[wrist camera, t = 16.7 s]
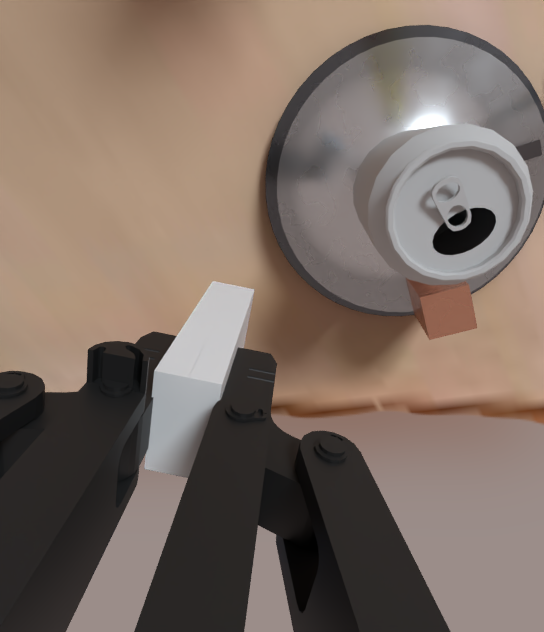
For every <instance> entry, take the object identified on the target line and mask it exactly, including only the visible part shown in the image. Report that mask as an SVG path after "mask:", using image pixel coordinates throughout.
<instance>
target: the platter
mask: <svg viewBox="0 0 544 632" xmlns="http://www.w3.org/2000/svg"><path fill="white" fill-rule="evenodd" d="M465 123H468V124H472V125H475V126H479V127H483V128H487V129H491V130H494V131H495V132H496V133H498V134H499V135H501V136H502V137H503V138H505V139H506V140H508V141H509V142H510V143H512V144H513V145H514V146H515V148H516V149H517V151H518V152H519V154H520V155H521V157H522V158H523V160H524V161H525V163H526V164H527V166H528V170H529V175H530V179H531V184H532V189H533V195H532V197H533V198H532V206H531V215H530V221H529V223H528V226H527V228H526V230H525V232H524V234H523V237H522V239H521V241H520V243H519V244H518V245H517V246H516V247H515V249H514V250H513V251H512V252H511V253H510V254H509V256H508V257H507V258H506V259H505V260H504V261H503V262H501V263H500V264H498V265H497V266H495V267H494V268H492V269H491V270H489V271H488V272H486V273H485V274H483V275H481V276H479V277H476V278H473V279H470V280H467V281H464V282H461V283H458V284H452V285H428V284H424V283H420V282H417V281H413V280H409V279H407V278H406V277H404V276H403V275H401V274H400V273H398V272H397V271H395V270H394V269H392V268H390V267H389V265H388V264H387V263H386V261H385V260H384V259H383V258H382V256H381V255H380V254H379V253H378V251H377V250H376V248H375V247H374V245H373V243H372V241H371V240H370V238H369V236H368V234H367V233H366V231H365V229H364V228H363V226H362V224H361V222H360V221H359V218H358V215H357V212H356V210H355V207H354V204H353V184H354V181H355V178H356V174H357V171H358V168H359V166H360V165H361V163H362V162H363V160H364V158H365V157H366V155H367V154H368V152H369V151H370V150H372V149H373V148H374V147H375V146H376V145H377V144H379V143H380V142H381V141H382V140H383V139H385V138H388V137H390V136H392V135H395V134H397V133H399V132H402V131H408V130H415V129H421V128H428V127H434V126H442V125H453V124H465ZM277 199H278V208H279V214H280V218H281V222H282V226H283V230H284V232H285V235H286V237H287V240H288V243H289V245H290V246H291V248H292V250H293V252H294V254H295V255H296V257H297V259H298V260H299V261H300V263H301V264H302V265H303V267H304V268H305V270H306V271H307V272H308V273H309V274H310V275H311V276H312V277H313V278H314V279H315V280H316V281H317V282H318V283H320V284H321V285H322V286H323V287H325V288H326V289H327V290H328V291H330V292H332V293H333V294H335V295H337V296H338V297H340V298H342V299H344V300H346V301H348V302H351V303H353V304H355V305H358V306H362V307H365V308H369V309H373V310H379V311H385V312H411V311H414V314H415V316H416V317H417V319H418V321H419V323H420V324H421V326H422V328H423V329H424V331H425V333H426V335H427V336H428V338H429V340H431V339H435V338H439V337H443V336H447V335H451V334H455V333H459V332H463V331H467V330H471V329H475V328H477V324H476V318H475V313H474V308H473V303H472V297H471V292H472V291H474V290H476V289H477V288H479V287H481V286H482V285H483V284H485V283H486V282H487V281H488V280H490V279H491V278H492V277H494V276H495V275H496V274H497V273H498V272H499V271H500V270H501V269H502V268H503V267H504V266H505V265H506V264H507V263H508V262H509V261H510V260H511V259H512V257H513V256H514V255H515V254H516V253H517V251H518V250H519V249H520V247H521V246H522V244H523V243H524V241H525V240H526V238H527V236H528V235H529V233H530V231H531V229H532V227H533V225H534V223H535V221H536V219H537V217H538V214H539V211H540V208H541V205H542V203H543V199H544V124H543V121H542V118H541V115H540V112H539V109H538V107H537V105H536V103H535V102H534V100H533V98H532V96H531V94H530V92H529V91H528V89H527V88H526V87H525V85H524V84H523V83H522V81H521V80H520V79H519V77H518V76H517V75H516V74H514V73H513V72H512V71H511V70H510V69H509V68H508V67H507V66H506V65H505V64H504V63H502V62H501V61H500V60H498V59H497V58H495V57H494V56H492V55H491V54H490V53H487V52H485V51H483V50H481V49H479V48H477V47H475V46H473V45H470V44H467V43H463V42H460V41H457V40H453V39H446V38H438V37H413V38H407V39H401V40H395V41H392V42H388V43H385V44H382V45H378V46H376V47H373V48H371V49H369V50H367V51H365V52H363V53H360V54H358V55H357V56H355V57H354V58H352V59H350V60H349V61H347V62H346V63H344V64H342V65H341V66H340V67H339V68H337V69H336V70H335V71H334V72H332V73H331V74H330V75H329V76H328V77H326V78H325V79H324V80H323V82H322V83H321V84H320V85H319V86H318V87H317V88H316V89H315V90H314V91H313V92H312V94H311V95H310V96H309V98H308V99H307V100H306V102H305V103H304V104H303V106H302V107H301V109H300V111H299V112H298V114H297V116H296V118H295V120H294V121H293V123H292V125H291V127H290V130H289V132H288V135H287V137H286V140H285V142H284V146H283V150H282V153H281V157H280V161H279V169H278V176H277Z"/></svg>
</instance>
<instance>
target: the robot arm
mask: <svg viewBox="0 0 544 632" xmlns="http://www.w3.org/2000/svg"><path fill="white" fill-rule="evenodd" d="M253 295H254V289H250V288H245V287H240V286H235V285H230V284H225V283H220V282H215V281H213V282H212V283H211V285H210V286H209V288H208V289H207V291H206V292H205V294H204V295H203V297H202V298H201V300H200V301H199V303H198V305H197V306H196V308H195V309H194V311H193V312H192V314H191V315H190V317H189V318H188V320H187V321H186V323H185V324H184V326H183V327H182V329H181V331H180V332H179V334H178V335H177V336H173V335H168V334H164V333H159V332H152V333H149V334H147V335H145V336H143V337H141V338H140V339H139V340H138V341H137V343H136V344H133V343H129V342H120V341H113V342H104V343H100V344H96V345H94V346H93V347H91V348H89V349H88V362H87V382H86V384H85V385H84V386H83V387H82V388H81V389H80V390H79V391H78V392H67V393H60V392H45V384H44V382H43V380H42V379H41V378H40V377H38V376H36V375H35V374H31V373H27V372H21V371H7V372H2V373H0V632H66V630H67V628H68V626H69V623H70V622H71V620H72V617H73V615H74V613H75V611H76V609H77V607H78V605H79V603H80V601H81V599H82V597H83V595H84V593H85V591H86V589H87V586H88V584H89V582H90V580H91V578H92V576H93V574H94V572H95V570H96V568H97V566H98V564H99V562H100V560H101V558H102V556H103V553H104V551H105V549H106V547H107V545H108V543H109V541H110V539H111V537H112V535H113V533H114V531H115V529H116V527H117V525H118V522H119V520H120V518H121V516H122V514H123V512H124V510H125V508H126V506H127V504H128V502H129V500H130V498H131V496H132V494H133V491H134V489H135V487H136V485H137V481H138V474H139V465H140V464H141V461H142V460H143V458H144V456H145V454H146V457H145V467H144V469H147V470H152V471H157V472H162V473H167V474H172V475H176V476H182V477H187V478H188V480H187V483H186V486H185V489H184V492H183V494H182V497H181V500H180V503H179V506H178V509H177V512H176V514H175V518H174V521H173V523H172V526H171V529H170V532H169V534H168V537H167V540H166V543H165V546H164V549H163V551H162V554H161V557H160V560H159V563H158V566H157V569H156V571H155V574H154V577H153V580H152V583H151V586H150V589H149V591H148V594H147V597H146V600H145V603H144V606H143V609H142V611H141V614H140V617H139V620H138V623H137V626H136V628H135V631H134V632H244V627H245V620H246V612H247V604H248V597H249V589H250V582H251V573H252V566H253V558H254V550H255V542H256V535H257V527H258V525H259V526H261V527H263V528H265V529H267V530H269V531H271V532H273V533H275V534H276V545H277V550H278V554H279V560H280V565H281V570H282V575H283V580H284V585H285V590H286V595H287V600H288V605H289V610H290V615H291V620H292V626H293V630H294V632H450V630H449V628H448V626H447V624H446V622H445V620H444V618H443V616H442V614H441V612H440V610H439V608H438V606H437V604H436V602H435V600H434V598H433V596H432V594H431V592H430V590H429V588H428V586H427V584H426V582H425V580H424V578H423V576H422V574H421V572H420V570H419V568H418V566H417V564H416V562H415V560H414V558H413V556H412V554H411V552H410V550H409V548H408V546H407V544H406V542H405V540H404V538H403V536H402V534H401V532H400V531H399V528H398V526H397V524H396V522H395V520H394V518H393V516H392V514H391V512H390V510H389V508H388V506H387V504H386V502H385V500H384V498H383V496H382V494H381V492H380V490H379V488H378V486H377V484H376V483H375V480H374V478H373V476H372V474H371V472H370V470H369V468H368V466H367V464H366V462H365V460H364V458H363V456H362V454H361V452H360V451H359V450H358V448H357V447H356V446H355V444H354V443H352V442H351V441H349V440H348V439H347V438H345V437H343V436H341V435H338V434H336V433H333V432H327V431H312V432H310V433H308V434H306V435H304V437H303V438H302V440H299V439H297V438H294V437H292V436H291V435H289V434H287V433H285V432H283V431H282V430H281V429H280V428H278V427H277V425H276V424H275V423H274V422H273V420H272V418H271V404H272V397H273V389H274V381H275V373H276V366H277V363H276V361H275V360H274V358H273V356H272V355H271V354H269V353H264V352H259V351H254V350H249V349H244V344H245V338H246V333H247V328H248V322H249V317H250V311H251V306H252V300H253Z"/></svg>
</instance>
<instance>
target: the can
mask: <svg viewBox="0 0 544 632" xmlns="http://www.w3.org/2000/svg"><path fill="white" fill-rule="evenodd" d="M532 195H533V189H532V184H531V179H530V175H529V170H528V166H527V164H526V163H525V161H524V160H523V158H522V157H521V155H520V154H519V152H518V151H517V149H516V148H515V146H514V145H513V144H512V143H510V142H509V141H508V140H506V139H505V138H503V137H502V136H501V135H499V134H498V133H496V132H495V131H494V130H491V129H487V128H483V127H479V126H475V125H472V124H468V123H465V124H453V125H442V126H434V127H428V128H421V129H415V130H408V131H402V132H399V133H397V134H395V135H392V136H390V137H388V138H385V139H383V140H382V141H381V142H380V143H379V144H377V145H376V146H375V147H374V148H373V149H372V150H370V151H369V152H368V154H367V155H366V157H365V158H364V160H363V162H362V163H361V165H360V166H359V168H358V171H357V174H356V178H355V181H354V184H353V204H354V207H355V210H356V212H357V215H358V218H359V221H360V222H361V224H362V226H363V228H364V229H365V231H366V233H367V234H368V236H369V238H370V240H371V241H372V243H373V245H374V247H375V248H376V250H377V251H378V253H379V254H380V255H381V256H382V258H383V259H384V260H385V261H386V263H387V264H388V265H389V267H390V268H392V269H394V270H395V271H397V272H398V273H400V274H401V275H403V276H404V277H406V278H407V279H409V280H413V281H417V282H420V283H424V284H428V285H452V284H458V283H461V282H464V281H467V280H470V279H473V278H476V277H479V276H481V275H483V274H485V273H486V272H488V271H489V270H491V269H492V268H494V267H495V266H497V265H498V264H500V263H501V262H503V261H504V260H505V259H506V258H507V257H508V256H509V254H510V253H511V252H512V251H513V250H514V249H515V247H516V246H517V245H518V244H519V243H520V241H521V239H522V237H523V234H524V232H525V230H526V228H527V226H528V223H529V221H530V215H531V206H532V198H533V197H532Z"/></svg>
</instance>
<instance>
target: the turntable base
mask: <svg viewBox="0 0 544 632" xmlns="http://www.w3.org/2000/svg"><path fill="white" fill-rule="evenodd" d="M413 37H438V38H446V39H453V40H457V41H460V42H463V43H467V44H470V45H473V46H475V47H477V48H479V49H481V50H483V51H485V52H487V53H490V54H491V55H492V56H494V57H495V58H497V59H498V60H500V61H501V62H502V63H504V64H505V65H506V66H507V67H508V68H509V69H510V70H511V71H512V72H513V73H514V74H516V75H517V76H518V77H519V79H520V80H521V81H522V83H523V84H524V85H525V87H526V88H527V89H528V91H529V92H530V94H531V96H532V98H533V100H534V102H535V103H536V105H537V107H538V109H539V112H540V115H541V118H542V121H543V124H544V110H543V107H542V104H541V102H540V99H539V97H538V95H537V93H536V92H535V90H534V88H533V86H532V84H531V83H530V81H529V80H528V78H527V77H526V76H525V75H524V73H523V72H522V71H521V70H520V68H519V67H518V66H517V65H516V64H515V63H514V62H513V61H512V60H511V59H510V58H509V57H508V56H506V55H505V54H504V53H503V52H502V51H500V50H499V49H497V48H496V47H494V46H493V45H491V44H490V43H488V42H487V41H485V40H483V39H480V38H478V37H476V36H474V35H472V34H469V33H467V32H463V31H459V30H456V29H452V28H448V27H440V26H431V25H418V26H404V27H398V28H393V29H387V30H384V31H381V32H378V33H375V34H372V35H369V36H366V37H364V38H362V39H360V40H358V41H356V42H354V43H352V44H350V45H348V46H346V47H345V48H343V49H342V50H340V51H339V52H337V53H336V54H334V55H333V56H331V57H330V58H329V59H327V60H326V61H325V62H324V63H323V64H322V65H321V66H319V67H318V68H317V69H316V70H315V71H314V72H313V73H312V74H311V75H310V76H309V77H308V78H307V80H306V81H305V82H304V83H303V84H302V85H301V86H300V88H299V89H298V90H297V92H296V93H295V95H294V96H293V98H292V99H291V101H290V102H289V104H288V105H287V107H286V109H285V111H284V113H283V115H282V117H281V119H280V121H279V123H278V126H277V128H276V131H275V134H274V137H273V139H272V143H271V147H270V151H269V155H268V160H267V169H266V201H267V208H268V215H269V218H270V222H271V225H272V229H273V232H274V234H275V237H276V239H277V241H278V244H279V246H280V248H281V250H282V251H283V253H284V255H285V256H286V258H287V260H288V261H289V263H290V264H291V265H292V267H293V268H294V269H295V270H296V272H297V273H298V274H299V275H300V276H301V277H302V278H303V279H304V280H305V281H306V282H307V283H308V284H309V285H310V286H311V287H313V288H314V289H315V290H317V291H318V292H319V293H321V294H322V295H323V296H325V297H327V298H329V299H330V300H332V301H334V302H336V303H338V304H340V305H343V306H345V307H348V308H350V309H353V310H356V311H360V312H364V313H368V314H375V315H382V316H406V315H415V314H414V311H411V312H385V311H379V310H373V309H369V308H365V307H362V306H358V305H355V304H353V303H351V302H348V301H346V300H344V299H342V298H340V297H338V296H337V295H335V294H333V293H332V292H330V291H328V290H327V289H326V288H325V287H323V286H322V285H321V284H320V283H318V282H317V281H316V280H315V279H314V278H313V277H312V276H311V275H310V274H309V273H308V272H307V271H306V270H305V268H304V267H303V265H302V264H301V263H300V261H299V260H298V259H297V257H296V255H295V254H294V252H293V250H292V248H291V246H290V245H289V243H288V240H287V237H286V235H285V232H284V230H283V226H282V222H281V218H280V214H279V208H278V199H277V176H278V169H279V161H280V157H281V153H282V150H283V146H284V142H285V140H286V137H287V135H288V132H289V130H290V127H291V125H292V123H293V121H294V120H295V118H296V116H297V114H298V112H299V111H300V109H301V107H302V106H303V104H304V103H305V102H306V100H307V99H308V98H309V96H310V95H311V94H312V92H313V91H314V90H315V89H316V88H317V87H318V86H319V85H320V84H321V83H322V82H323V80H324V79H325V78H326V77H328V76H329V75H330V74H331V73H332V72H334V71H335V70H336V69H337V68H339V67H340V66H341V65H342V64H344V63H346V62H347V61H349V60H350V59H352V58H354V57H355V56H357V55H358V54H360V53H363V52H365V51H367V50H369V49H371V48H373V47H376V46H378V45H382V44H385V43H388V42H392V41H395V40H401V39H407V38H413ZM543 205H544V199H543V203H542V205H541V208H540V211H539V214H538V217H537V219H536V221H535V223H534V225H533V227H532V229H531V231H530V233H529V235H528V236H527V238H526V240H525V241H524V243H523V244H522V246H521V247H520V249H519V250H518V251H517V253H516V254H515V255H514V256H513V257H512V259H511V260H510V261H509V262H508V263H507V264H506V265H505V266H504V267H503V268H502V269H501V270H500V271H499V272H498V273H497V274H496V275H495V276H494V277H492V278H491V279H490V280H488V281H487V282H486V283H485V284H483V285H482V286H481V287H479V288H477V289H476V290H474V291H472V292H471V294H473V293H474V292H476V291H478V290H479V289H481V288H482V287H484V286H485V285H486V284H487V283H489V282H490V281H491V280H493V279H494V278H495V277H496V276H497V275H498V274H499V273H500V272H501V271H502V270H503V269H504V268H505V267H506V266H507V265H508V264H509V263H510V262H511V261H512V260H513V259H514V257H515V256H516V255H517V254H518V252H519V251H520V250H521V249H522V247H523V246H524V244H525V242H526V241H527V239H528V238H529V236H530V234H531V233H532V231H533V229H534V227H535V225H536V223H537V220H538V218H539V216H540V214H541V211H542V208H543Z"/></svg>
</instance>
